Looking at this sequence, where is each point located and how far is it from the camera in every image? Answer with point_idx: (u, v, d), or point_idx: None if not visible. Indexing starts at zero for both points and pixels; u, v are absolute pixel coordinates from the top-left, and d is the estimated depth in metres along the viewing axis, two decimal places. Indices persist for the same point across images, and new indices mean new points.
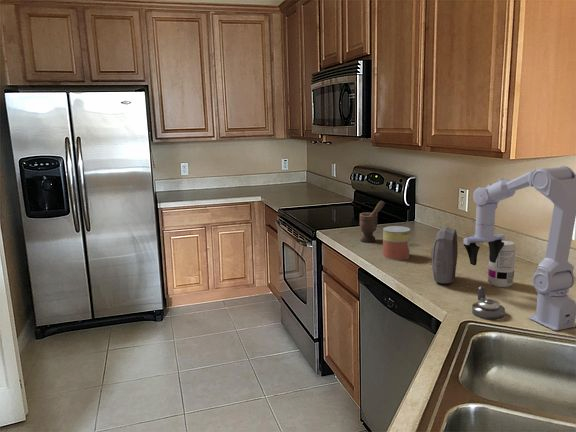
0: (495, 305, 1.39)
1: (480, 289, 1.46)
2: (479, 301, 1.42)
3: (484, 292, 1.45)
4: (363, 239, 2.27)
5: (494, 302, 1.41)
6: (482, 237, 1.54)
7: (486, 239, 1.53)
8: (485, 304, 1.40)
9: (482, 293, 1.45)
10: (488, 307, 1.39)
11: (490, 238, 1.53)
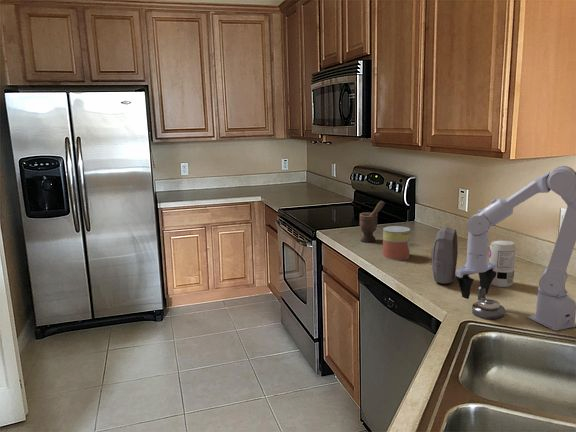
0: (495, 305, 1.39)
1: (480, 289, 1.46)
2: (479, 301, 1.42)
3: (484, 292, 1.45)
4: (363, 239, 2.27)
5: (494, 302, 1.41)
6: (475, 268, 1.42)
7: (480, 270, 1.41)
8: (485, 304, 1.40)
9: (482, 293, 1.45)
10: (488, 307, 1.39)
11: (484, 269, 1.42)
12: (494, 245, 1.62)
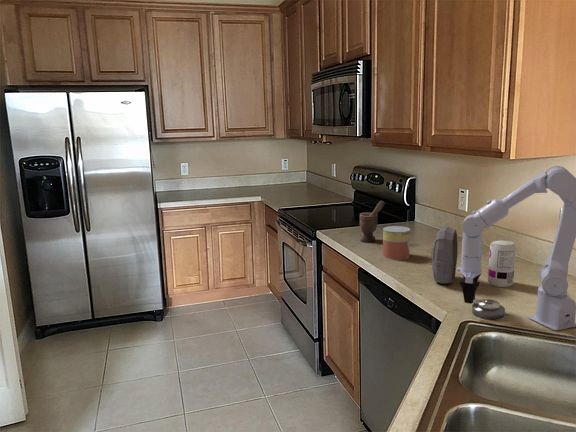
0: (498, 303, 1.40)
1: None
2: (481, 303, 1.41)
3: (475, 293, 1.45)
4: (363, 239, 2.27)
5: None
6: (477, 271, 1.39)
7: (480, 272, 1.40)
8: (490, 305, 1.39)
9: (474, 295, 1.44)
10: (496, 307, 1.39)
11: (481, 270, 1.40)
12: (494, 245, 1.63)
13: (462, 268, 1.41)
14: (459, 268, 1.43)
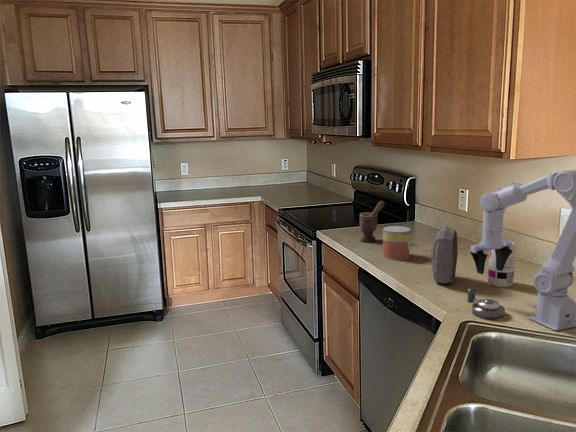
0: (498, 303, 1.40)
1: (472, 291, 1.44)
2: (481, 303, 1.41)
3: (475, 293, 1.45)
4: (363, 239, 2.27)
5: None
6: (490, 244, 1.47)
7: (494, 246, 1.46)
8: (490, 305, 1.39)
9: (474, 295, 1.44)
10: (496, 307, 1.39)
11: (498, 245, 1.46)
12: None
13: None
14: None
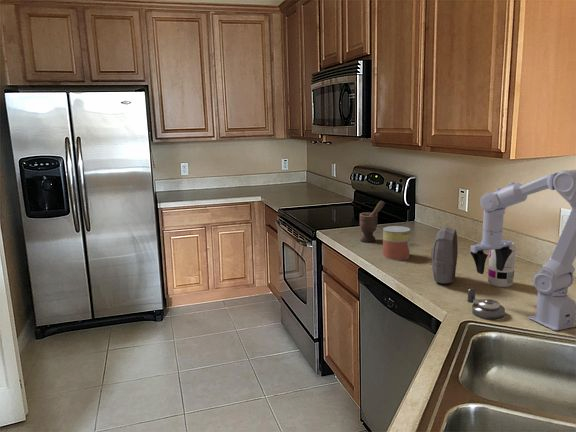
0: (498, 303, 1.40)
1: (472, 291, 1.44)
2: (481, 303, 1.41)
3: (475, 293, 1.45)
4: (363, 239, 2.27)
5: None
6: (490, 244, 1.47)
7: (494, 246, 1.46)
8: (490, 305, 1.39)
9: (474, 295, 1.44)
10: (496, 307, 1.39)
11: (498, 245, 1.46)
12: None
13: None
14: None
